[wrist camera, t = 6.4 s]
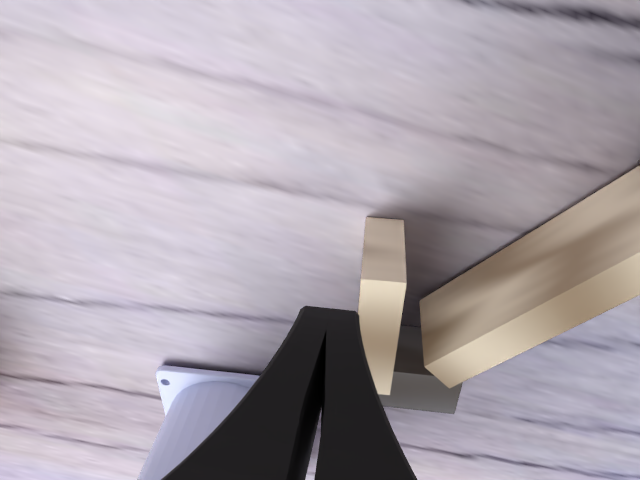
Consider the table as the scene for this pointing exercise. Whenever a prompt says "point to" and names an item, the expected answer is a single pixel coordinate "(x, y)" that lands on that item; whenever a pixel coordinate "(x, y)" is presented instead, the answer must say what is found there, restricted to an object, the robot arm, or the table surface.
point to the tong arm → (537, 285)
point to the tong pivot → (395, 326)
